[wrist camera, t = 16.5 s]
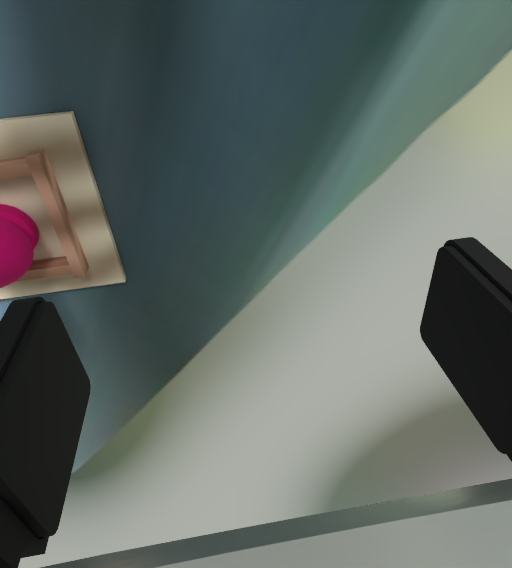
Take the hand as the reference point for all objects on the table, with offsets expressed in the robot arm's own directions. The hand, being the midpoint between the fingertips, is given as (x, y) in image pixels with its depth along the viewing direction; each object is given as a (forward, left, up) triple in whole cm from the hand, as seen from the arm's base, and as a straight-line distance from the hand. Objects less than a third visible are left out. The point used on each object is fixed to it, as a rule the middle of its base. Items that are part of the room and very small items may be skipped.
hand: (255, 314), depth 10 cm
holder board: (+12, -23, -36) cm, 45 cm away
